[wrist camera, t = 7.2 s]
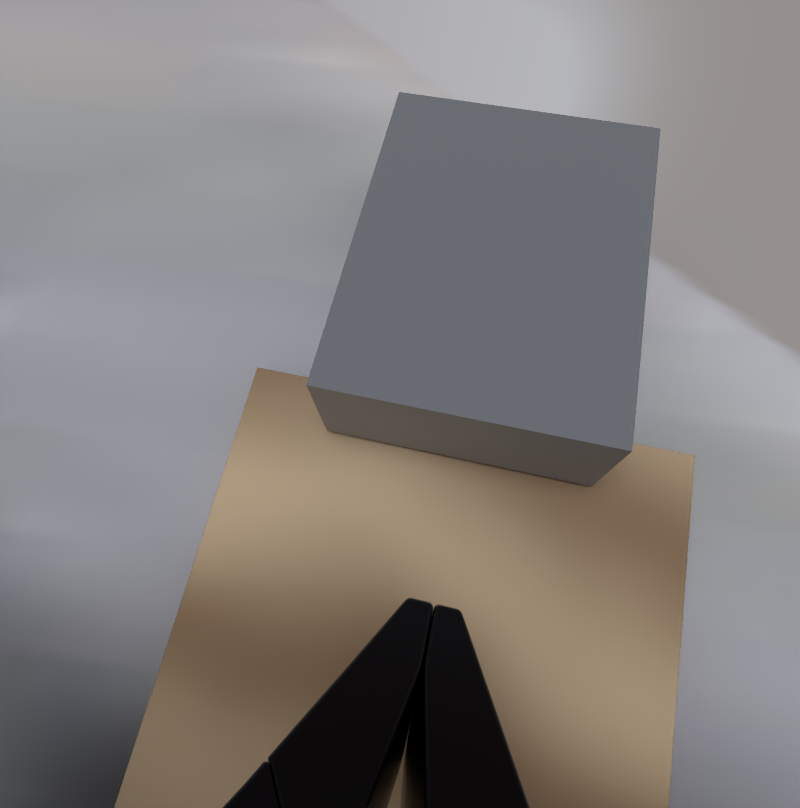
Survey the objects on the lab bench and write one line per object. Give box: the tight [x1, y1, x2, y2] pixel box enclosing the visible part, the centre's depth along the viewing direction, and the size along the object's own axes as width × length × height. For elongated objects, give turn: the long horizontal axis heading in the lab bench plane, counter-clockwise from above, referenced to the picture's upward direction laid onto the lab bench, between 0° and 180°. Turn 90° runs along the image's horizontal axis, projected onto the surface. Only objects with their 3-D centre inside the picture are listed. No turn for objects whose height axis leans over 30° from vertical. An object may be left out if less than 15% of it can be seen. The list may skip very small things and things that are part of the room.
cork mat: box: [114, 368, 695, 808], centre depth 13 cm, size 16×12×1 cm
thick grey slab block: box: [306, 92, 660, 486], centre depth 15 cm, size 3×7×9 cm
